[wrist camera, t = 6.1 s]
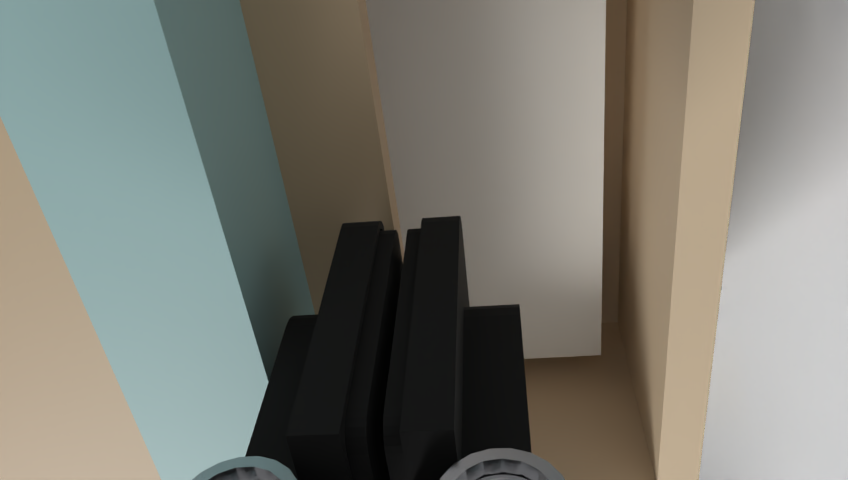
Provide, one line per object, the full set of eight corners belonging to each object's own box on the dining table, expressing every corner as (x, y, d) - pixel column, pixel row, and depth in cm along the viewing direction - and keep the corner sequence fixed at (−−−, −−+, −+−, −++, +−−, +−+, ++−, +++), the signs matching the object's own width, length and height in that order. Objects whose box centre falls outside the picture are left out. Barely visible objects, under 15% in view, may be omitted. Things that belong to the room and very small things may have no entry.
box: (674, -300, 13) (793, -319, 8) (642, 324, 21) (695, 510, 16) (-431, -150, 16) (-851, -95, 11) (-103, 362, 23) (-260, 534, 18)
